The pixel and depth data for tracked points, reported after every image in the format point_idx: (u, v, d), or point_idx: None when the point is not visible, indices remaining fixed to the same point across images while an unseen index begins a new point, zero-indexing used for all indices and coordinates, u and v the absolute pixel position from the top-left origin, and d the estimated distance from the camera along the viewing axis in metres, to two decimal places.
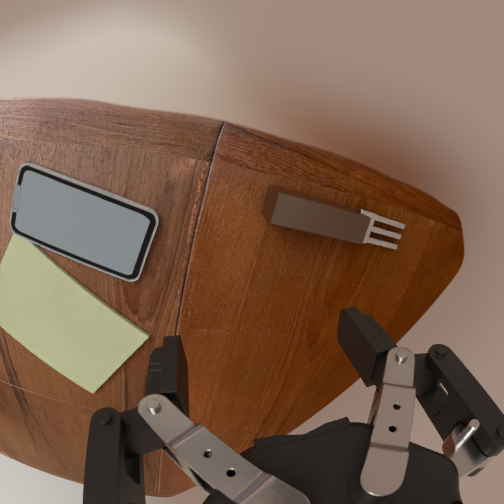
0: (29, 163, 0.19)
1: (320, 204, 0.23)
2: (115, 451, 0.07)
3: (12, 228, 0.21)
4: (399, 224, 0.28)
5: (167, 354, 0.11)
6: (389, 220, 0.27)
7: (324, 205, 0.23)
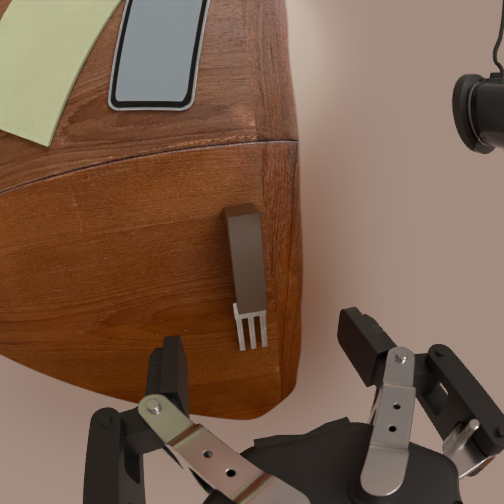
0: None
1: (262, 256, 0.24)
2: (115, 451, 0.07)
3: None
4: (264, 340, 0.30)
5: (167, 354, 0.11)
6: (265, 329, 0.30)
7: (262, 260, 0.24)
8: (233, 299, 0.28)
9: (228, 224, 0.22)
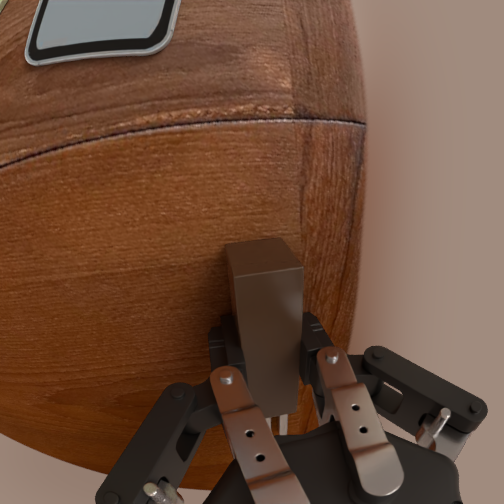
0: None
1: (299, 343, 0.12)
2: (174, 426, 0.08)
3: None
4: (283, 430, 0.18)
5: (227, 331, 0.13)
6: (285, 419, 0.18)
7: (299, 349, 0.12)
8: None
9: (236, 290, 0.10)
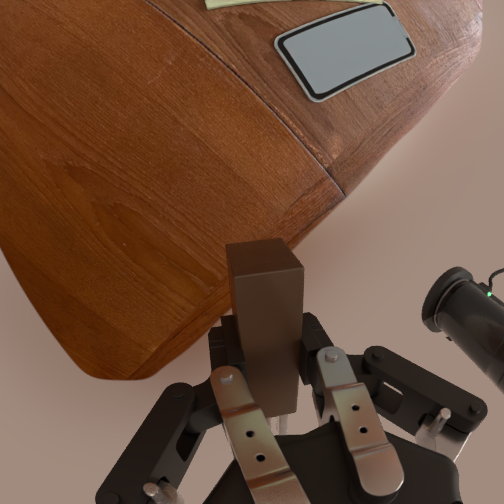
0: (412, 56, 0.22)
1: (299, 343, 0.12)
2: (174, 426, 0.08)
3: (385, 2, 0.19)
4: (283, 430, 0.18)
5: (227, 331, 0.13)
6: (285, 419, 0.18)
7: (299, 349, 0.12)
8: None
9: (237, 291, 0.10)
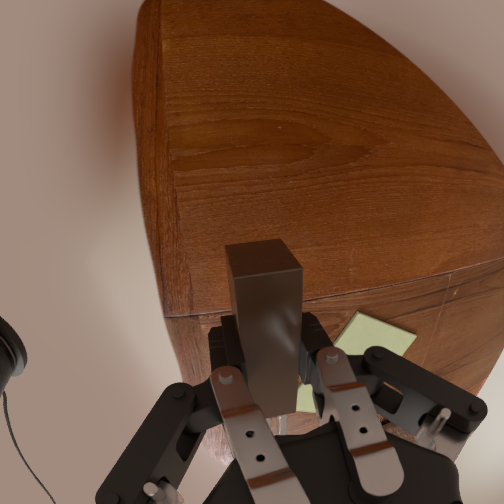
0: None
1: (298, 343, 0.12)
2: (174, 426, 0.08)
3: None
4: (283, 430, 0.18)
5: (227, 331, 0.13)
6: (285, 419, 0.18)
7: (298, 350, 0.12)
8: None
9: (236, 291, 0.10)
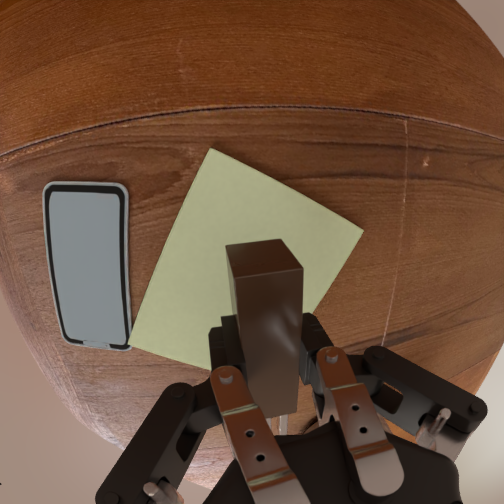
0: None
1: (299, 343, 0.12)
2: (174, 426, 0.08)
3: (128, 348, 0.24)
4: (284, 430, 0.18)
5: (227, 331, 0.13)
6: (286, 419, 0.18)
7: (299, 350, 0.12)
8: None
9: (236, 291, 0.10)
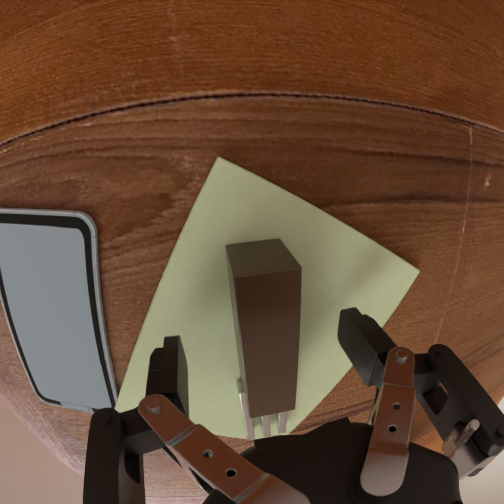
0: None
1: (297, 341, 0.12)
2: (115, 451, 0.07)
3: None
4: (283, 428, 0.19)
5: (167, 354, 0.11)
6: (285, 417, 0.18)
7: (297, 347, 0.12)
8: (239, 384, 0.17)
9: (236, 290, 0.11)
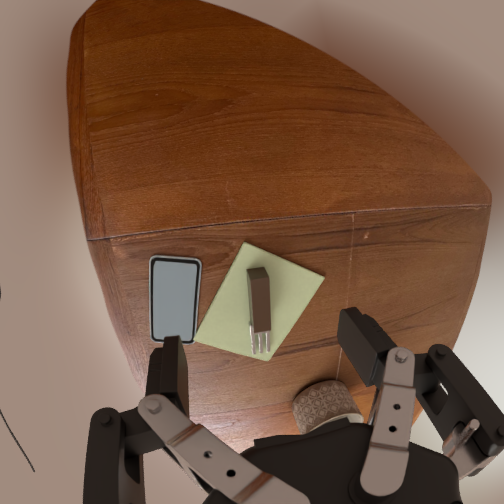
0: None
1: (269, 300, 0.40)
2: (115, 451, 0.07)
3: (192, 342, 0.44)
4: (268, 348, 0.46)
5: (167, 354, 0.11)
6: (269, 341, 0.46)
7: (269, 302, 0.40)
8: (249, 322, 0.44)
9: (250, 283, 0.38)
